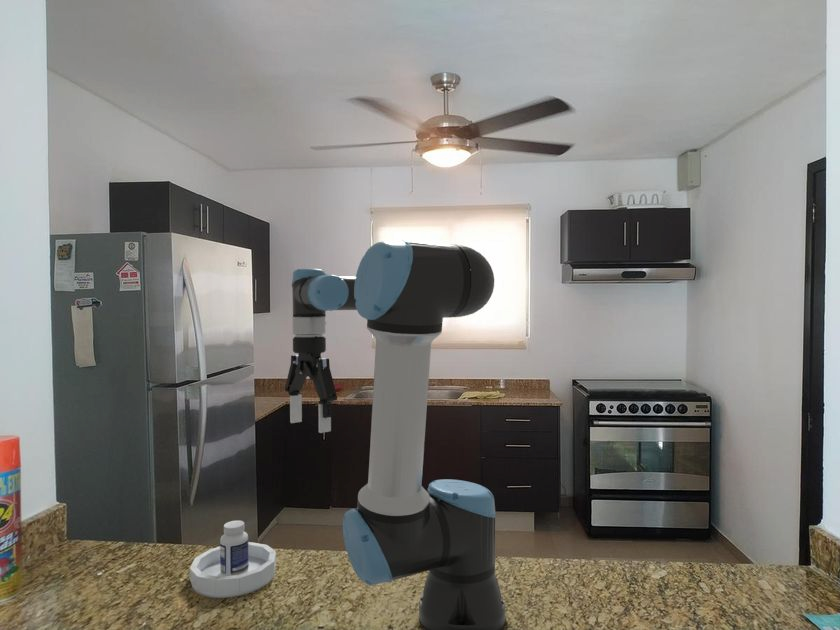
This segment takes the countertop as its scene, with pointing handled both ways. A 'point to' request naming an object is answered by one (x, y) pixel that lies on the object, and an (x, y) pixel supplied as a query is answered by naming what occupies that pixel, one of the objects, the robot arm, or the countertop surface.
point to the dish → (217, 586)
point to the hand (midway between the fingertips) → (309, 427)
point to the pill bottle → (234, 549)
